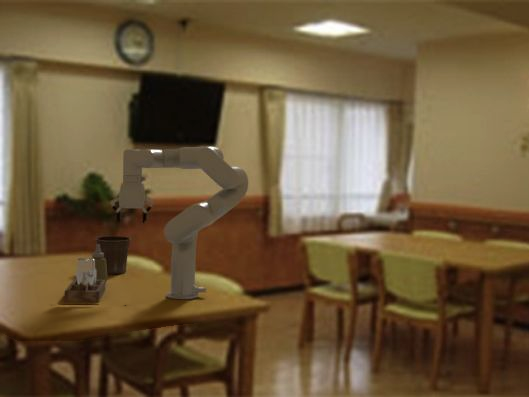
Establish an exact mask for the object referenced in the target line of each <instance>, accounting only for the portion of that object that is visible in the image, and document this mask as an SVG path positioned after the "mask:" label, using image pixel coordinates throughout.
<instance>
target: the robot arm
mask: <svg viewBox="0 0 529 397" xmlns="http://www.w3.org/2000/svg"><path fill="white" fill-rule="evenodd" d="M122 155H123V157H122V182H121V183H120V187H119V195H118V197H117V198H114V199H112V200H110V201H109V204H110V205H111V208H112V209H113V210H114V211H115V213H116V221H118V222H117V223H118V224H119V223H121V220H122V219H121V218H122V214H121V213H122V212H121V210H122V209H141V210H142V211H143V213H142V224H145V223H146V222H147V218H148V217H147V213H148V212H149V211H150V210H152V207H153V206H154V201H153V200H150V199H148V198H147V197H146V191H145V190H146V189H145V184H144V183H143V182H144V181H145V182H146V180H147V178H146V177H144V176H143V169H163V168H165V169H166V168H167V169H168V168H169V169H170V168H174V169H175V168H176V169H181V170H199V169H200V170H202V171H203V172H204V173H205V174H206V175H207V176H208V177H209V178H210V179H211V180H212V181H213V182H215V183H216V185H218V186H219V187H221V188H222V189H221V190H219V191H217V192H216V193H214V194H213V195H212V196H210V197H209V198H208V199H206V200H204V201H202V202H198V203H194V204H191V205H190V206H189V207H187V208H185V209H184V210H183V211H182V212H180V213H179V214H177V215H176V216H174V217H173V218H172V219H170V220H169V221H167V223H166V224H165V226H164V228H163V234H164V237H165V239H166V241H167V242H168V243H171V244H172V245H171V257H170V258H171V260H170V261H171V262H170V263H171V265H170V291H168V292H166V297H167V298H169V299H174V300H192V299H193V300H194V299H196V298H198V297H199V293H207V287H203V286H197V285H196V257H197V255H196V254H197V251H196V250H197V242H198V235H199V234H198V233H199V231H201V230H202V229H204V228H206V227H208V226H211V225H212V224H214V222H216V221H217V220H218V219H221V217H223V216H224V215H226V214H227V213H228V212H229V211H230V210H232V209H233V208H234V207H237V205H238V204H240V203H241V201H242V200H243V199H244V198H245V196H246V194H247V192H248V189H249V177H248V174H247V172H246V171H245V170H244V169H243V168H241V167H240V166H239V167H238V166H231V165H230V164H229V163H228V162H226V161H225V159H224V154H223V151H222V150H221V149H220V148H218V147H215V146H195V147H193V146H192V147H190V146H184V147H180V148H173V149H171V148H169V149H166V148H165V149H156V148H155V149H154V148H153V149H151V148H146V149H137V148H136V149H135V148H126V149H124V150H123V154H122ZM116 202H118V205H119V206H118V207H117V206H116V205H115V203H116ZM147 203H148V204H149V205H148V207H145V205H146V204H147Z"/></svg>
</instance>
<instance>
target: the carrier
mask: <svg viewBox="0 0 529 397" xmlns="http://www.w3.org/2000/svg"><path fill="white" fill-rule="evenodd" d="M106 285H107V281H106V280H96V285H93V289H92V290H93V291H78V283H77V279H73V280H72V281H71V282H70V284H69V285H68V286H67V287H66V289H65V290H64V305H67V306H68V305H71V306H73V305H75V306H78V305H81V306H85V305H87V306H95V305H97V306H98V305H100V301H101V299H102V298H103V296H104V293H105V291H106Z"/></svg>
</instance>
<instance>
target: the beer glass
mask: <svg viewBox="0 0 529 397" xmlns="http://www.w3.org/2000/svg"><path fill="white" fill-rule="evenodd" d="M75 277H76V280H77V283H78V291H93V290H92V289H93V282H94V277H95V259H94V258H93V257H79V258H76V265H75Z"/></svg>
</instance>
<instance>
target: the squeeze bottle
mask: <svg viewBox="0 0 529 397" xmlns="http://www.w3.org/2000/svg"><path fill="white" fill-rule="evenodd" d="M91 256H92V257H91V258H94V259H95V269H96V280H106V282H107V281H108V279H109V278H108V275H107V267H106V259H105V258H103V257H104V253H101V249H100V244H96V246H95V250H94V252H92V253H91Z"/></svg>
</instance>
